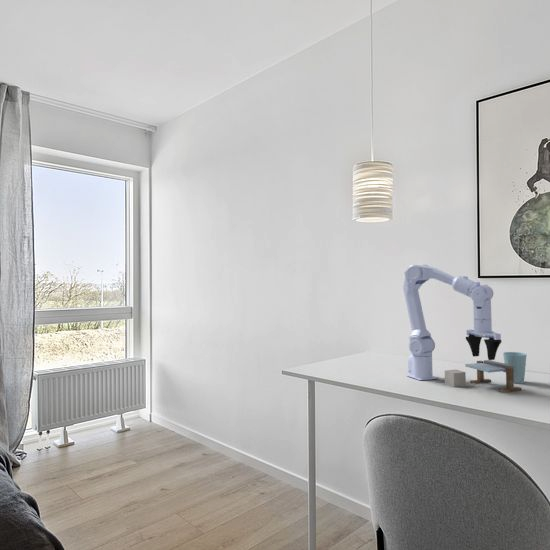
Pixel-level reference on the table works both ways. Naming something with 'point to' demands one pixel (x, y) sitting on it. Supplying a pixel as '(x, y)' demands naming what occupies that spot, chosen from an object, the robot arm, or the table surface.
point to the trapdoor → (490, 366)
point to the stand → (509, 380)
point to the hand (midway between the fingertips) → (483, 357)
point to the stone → (455, 378)
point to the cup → (516, 364)
